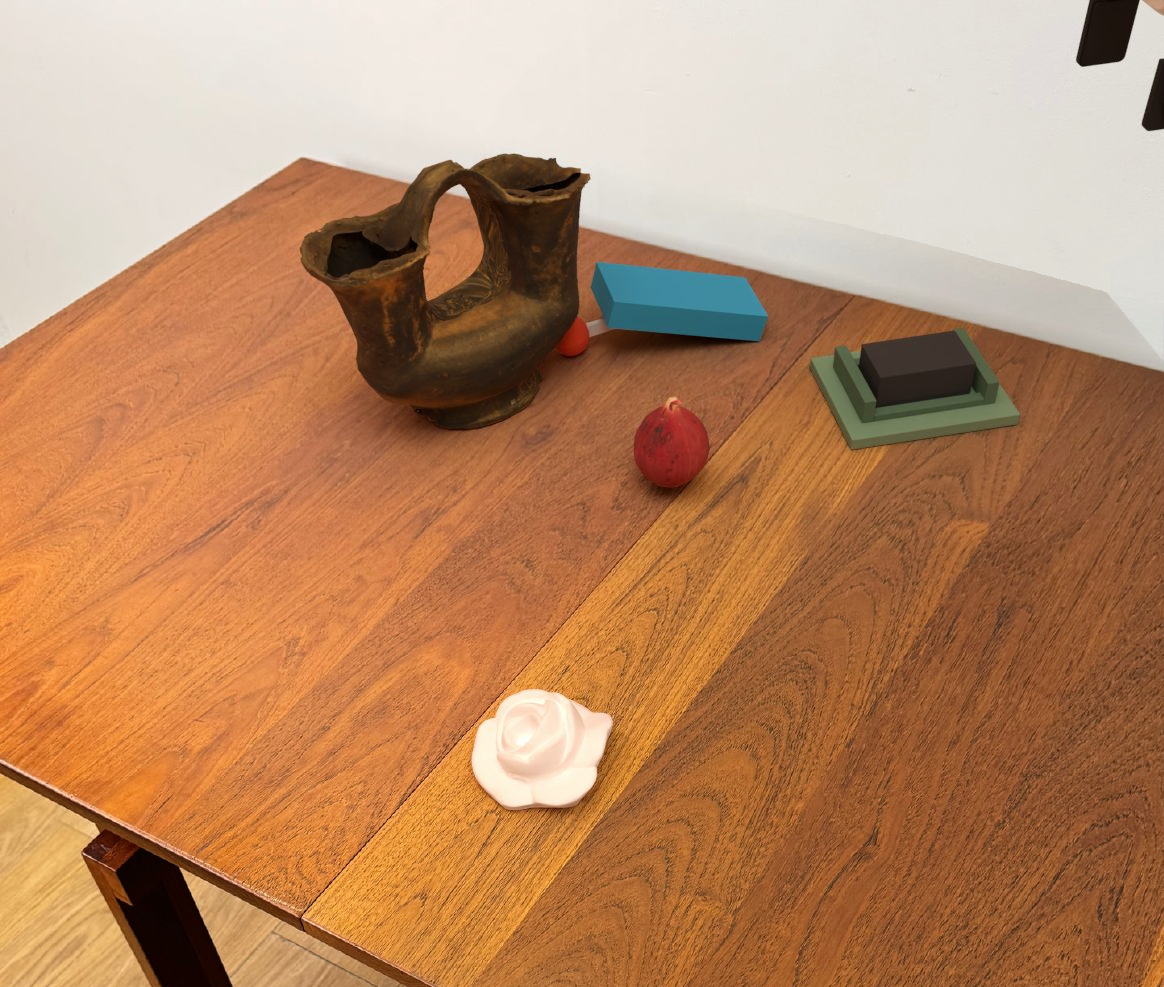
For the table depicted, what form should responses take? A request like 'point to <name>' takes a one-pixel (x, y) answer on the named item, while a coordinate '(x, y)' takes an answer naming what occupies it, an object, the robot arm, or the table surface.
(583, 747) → the rose
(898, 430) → the base pad
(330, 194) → the table surface
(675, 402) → the onion
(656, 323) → the lever
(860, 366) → the black block
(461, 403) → the pottery vessel
